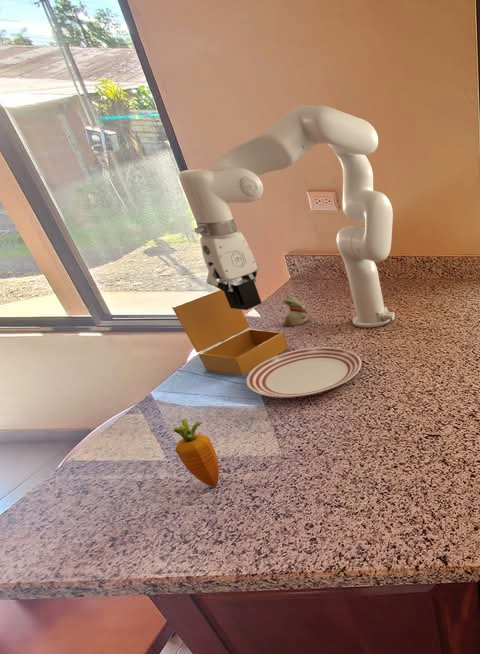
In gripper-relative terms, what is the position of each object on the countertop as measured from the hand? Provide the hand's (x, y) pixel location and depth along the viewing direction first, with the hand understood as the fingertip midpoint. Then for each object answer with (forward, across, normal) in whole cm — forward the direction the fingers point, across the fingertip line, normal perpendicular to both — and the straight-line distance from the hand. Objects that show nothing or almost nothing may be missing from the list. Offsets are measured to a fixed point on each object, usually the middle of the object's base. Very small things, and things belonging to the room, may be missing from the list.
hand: (244, 300), depth 109 cm
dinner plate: (+19, -4, -16) cm, 25 cm away
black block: (+1, 0, 0) cm, 1 cm away
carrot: (+19, -42, -26) cm, 53 cm away
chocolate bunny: (+20, +28, +14) cm, 37 cm away
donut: (+19, +10, +19) cm, 29 cm away
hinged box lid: (+7, +1, +13) cm, 15 cm away
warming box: (+19, +1, +7) cm, 21 cm away
